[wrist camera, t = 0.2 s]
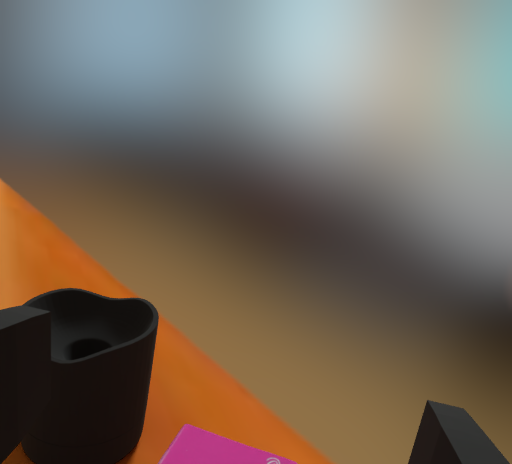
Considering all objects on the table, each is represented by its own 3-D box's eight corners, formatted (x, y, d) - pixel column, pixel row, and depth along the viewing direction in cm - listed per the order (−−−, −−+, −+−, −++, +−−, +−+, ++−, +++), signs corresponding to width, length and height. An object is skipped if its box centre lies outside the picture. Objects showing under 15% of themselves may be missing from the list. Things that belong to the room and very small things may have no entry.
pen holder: (107, 380, 42) (114, 277, 40) (171, 441, 37) (185, 326, 34) (-6, 423, 36) (-9, 303, 33) (50, 507, 30) (53, 369, 27)
